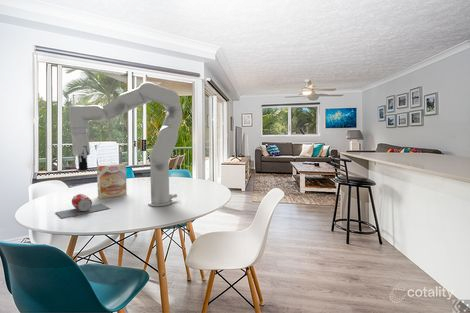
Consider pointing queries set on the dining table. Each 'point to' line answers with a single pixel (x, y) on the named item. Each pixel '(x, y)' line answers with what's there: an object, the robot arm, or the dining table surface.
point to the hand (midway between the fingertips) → (83, 170)
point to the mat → (75, 212)
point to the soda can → (81, 202)
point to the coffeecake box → (111, 180)
